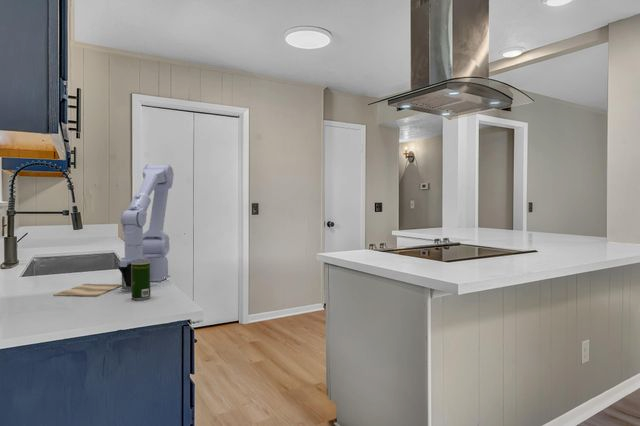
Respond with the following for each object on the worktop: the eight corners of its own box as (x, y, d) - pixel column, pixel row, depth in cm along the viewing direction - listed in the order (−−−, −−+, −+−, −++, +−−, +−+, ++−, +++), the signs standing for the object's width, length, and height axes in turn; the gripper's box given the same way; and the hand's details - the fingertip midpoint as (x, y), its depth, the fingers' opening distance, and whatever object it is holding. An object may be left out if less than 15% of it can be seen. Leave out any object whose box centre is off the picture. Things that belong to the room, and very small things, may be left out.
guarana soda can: (154, 297, 126) (154, 259, 126) (139, 301, 121) (139, 261, 121) (142, 295, 129) (142, 258, 128) (127, 299, 124) (127, 260, 123)
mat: (85, 284, 143) (85, 283, 143) (123, 285, 143) (123, 284, 143) (53, 295, 128) (53, 294, 127) (96, 296, 127) (96, 295, 127)
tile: (124, 288, 139) (123, 270, 139) (146, 288, 139) (146, 271, 139) (121, 289, 138) (121, 271, 138) (144, 289, 137) (144, 272, 137)
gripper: (133, 242, 145) (133, 279, 146) (110, 247, 131) (110, 288, 131) (152, 242, 145) (152, 280, 145) (131, 247, 130) (132, 289, 131)
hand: (134, 284), depth 138 cm, fingers open, 6 cm apart
